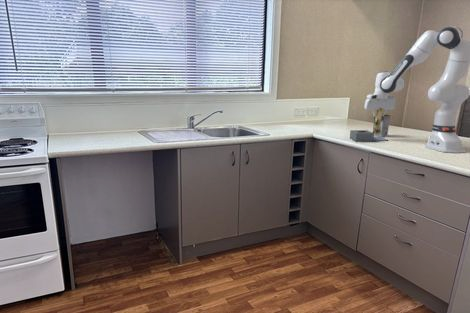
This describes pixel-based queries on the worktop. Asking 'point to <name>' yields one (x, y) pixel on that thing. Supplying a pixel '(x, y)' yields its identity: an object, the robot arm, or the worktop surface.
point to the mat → (379, 139)
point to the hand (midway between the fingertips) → (378, 116)
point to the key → (378, 116)
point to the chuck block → (361, 135)
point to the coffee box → (382, 127)
